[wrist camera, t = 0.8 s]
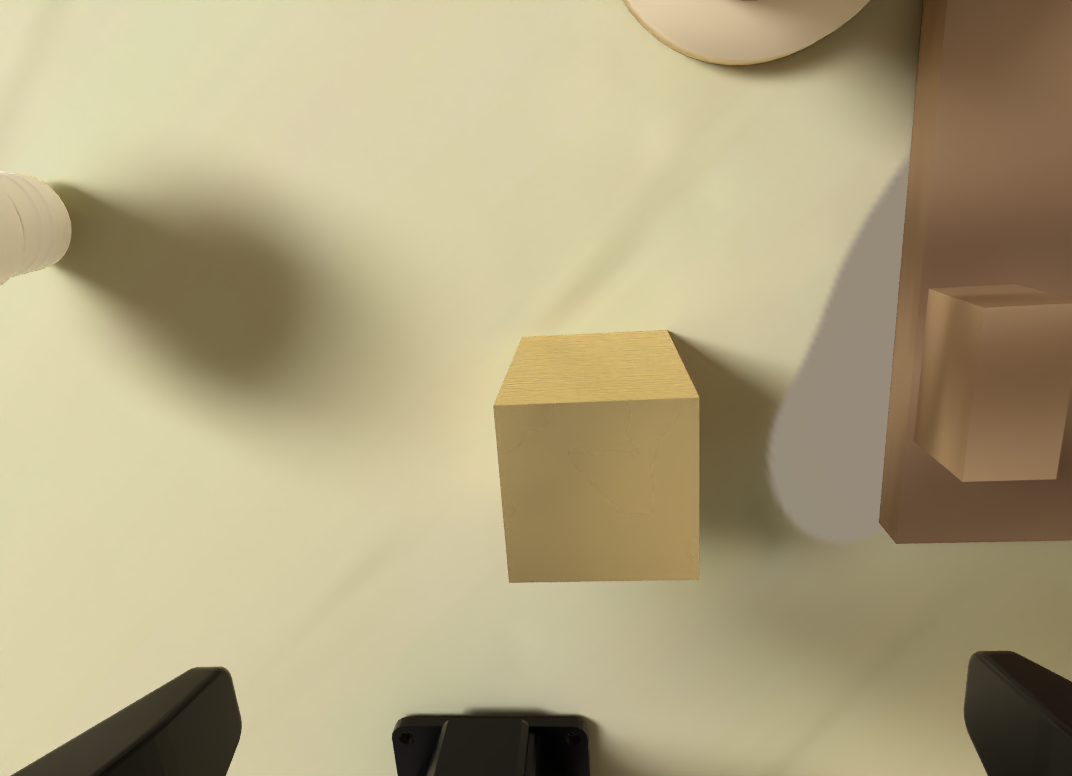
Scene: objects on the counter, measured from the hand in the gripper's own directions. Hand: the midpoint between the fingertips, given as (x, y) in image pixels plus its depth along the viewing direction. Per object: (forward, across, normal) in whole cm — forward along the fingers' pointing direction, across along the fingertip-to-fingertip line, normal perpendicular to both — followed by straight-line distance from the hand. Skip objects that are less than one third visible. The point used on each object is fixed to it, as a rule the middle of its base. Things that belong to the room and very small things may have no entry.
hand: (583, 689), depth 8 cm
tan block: (+12, 0, 0) cm, 12 cm away
